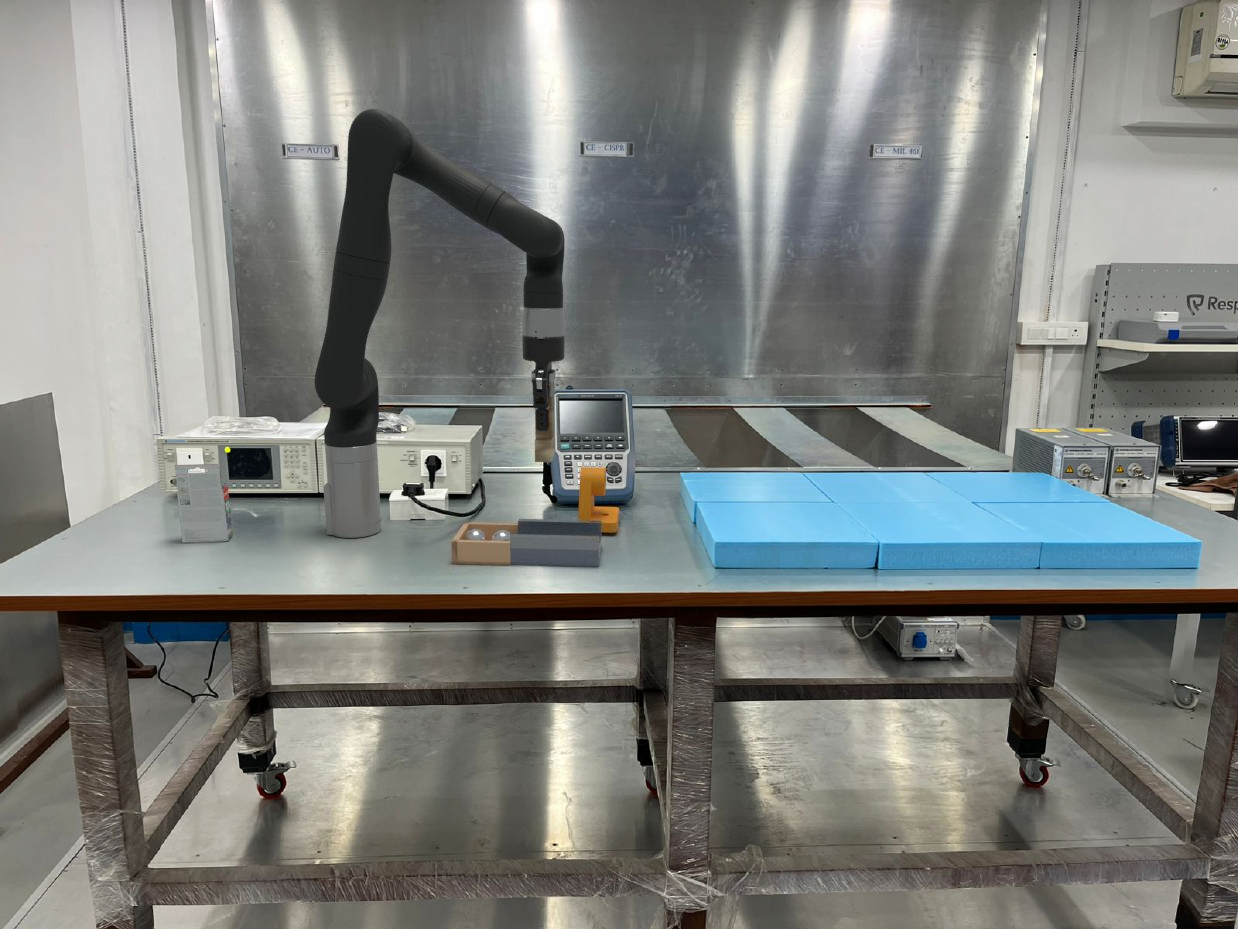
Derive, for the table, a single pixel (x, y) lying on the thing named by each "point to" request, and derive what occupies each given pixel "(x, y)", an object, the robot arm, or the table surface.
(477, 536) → the ball
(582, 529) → the slot rail
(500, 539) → the ball
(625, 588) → the table surface
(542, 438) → the tall wooden post
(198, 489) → the ink box
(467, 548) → the tray
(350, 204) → the robot arm
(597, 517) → the bracket
